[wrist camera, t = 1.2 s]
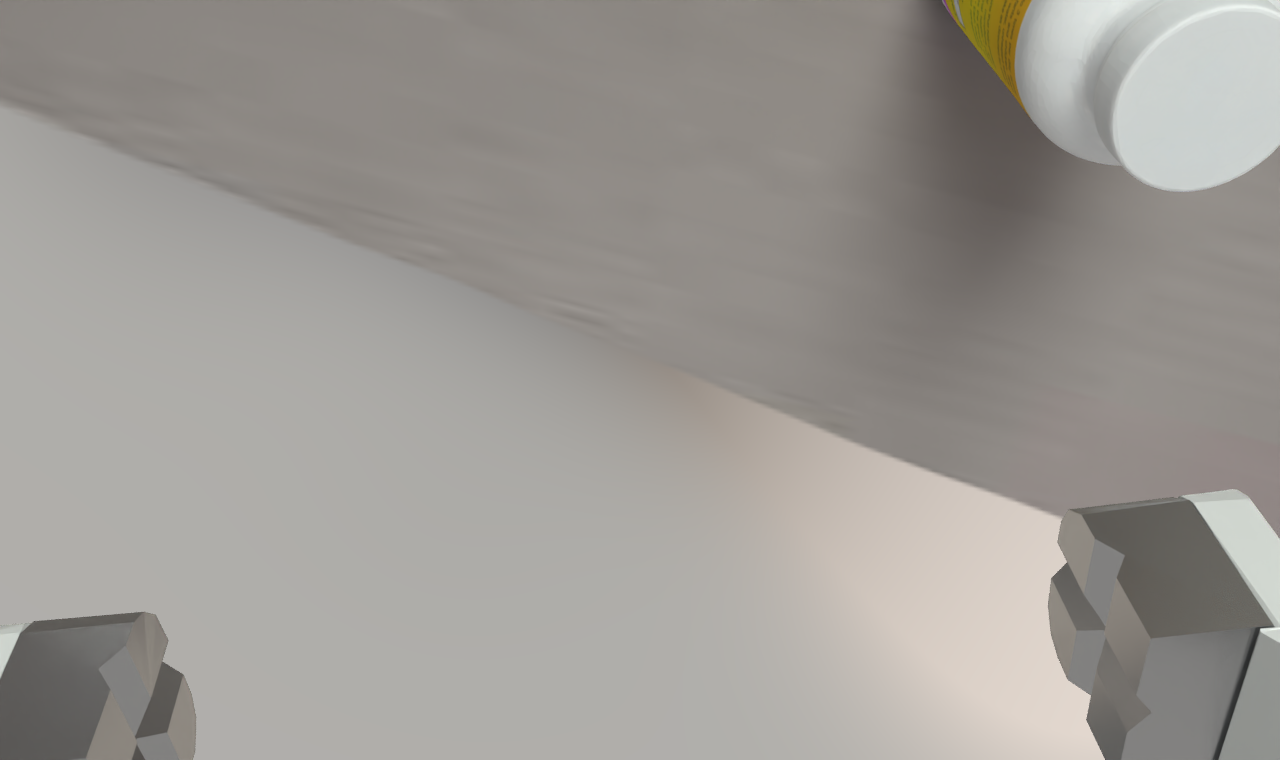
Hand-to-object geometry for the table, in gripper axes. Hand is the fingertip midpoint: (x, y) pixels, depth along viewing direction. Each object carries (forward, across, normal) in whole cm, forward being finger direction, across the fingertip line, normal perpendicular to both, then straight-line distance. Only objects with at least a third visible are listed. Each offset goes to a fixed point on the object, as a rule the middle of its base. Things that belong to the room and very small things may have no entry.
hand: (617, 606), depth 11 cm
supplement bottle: (+31, -15, +4) cm, 34 cm away
